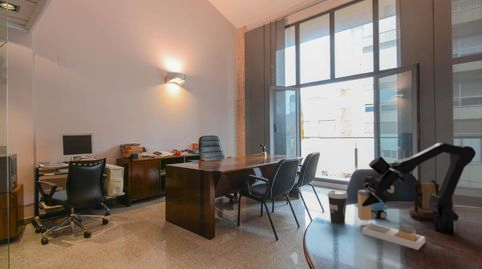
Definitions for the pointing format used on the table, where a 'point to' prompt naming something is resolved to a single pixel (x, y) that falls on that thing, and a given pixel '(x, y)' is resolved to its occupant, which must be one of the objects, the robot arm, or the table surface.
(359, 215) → the knob-topped wooden post
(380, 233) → the housing
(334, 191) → the coffee cup
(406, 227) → the grey and tan piece
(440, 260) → the table surface
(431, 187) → the scroll
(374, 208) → the toy excavator
